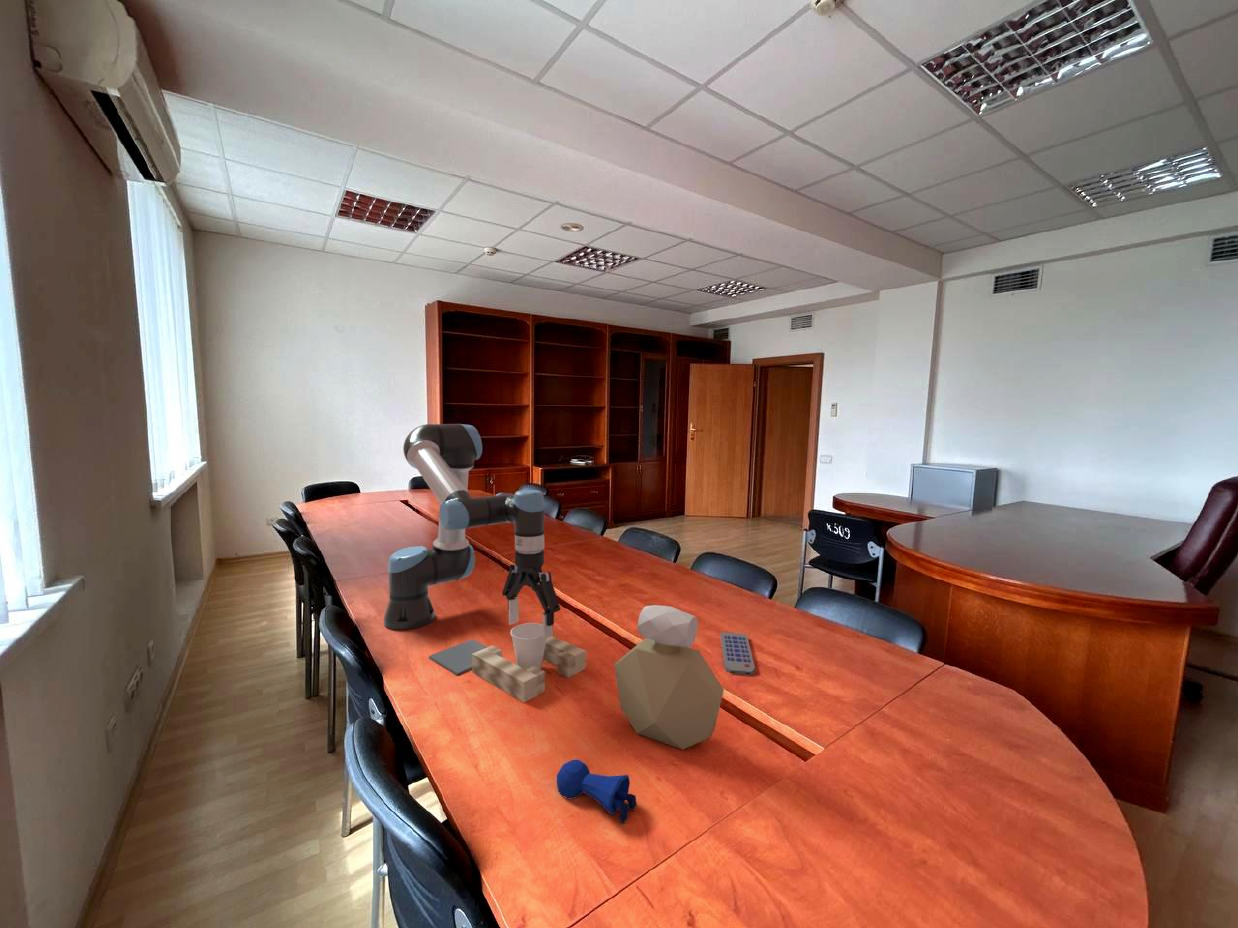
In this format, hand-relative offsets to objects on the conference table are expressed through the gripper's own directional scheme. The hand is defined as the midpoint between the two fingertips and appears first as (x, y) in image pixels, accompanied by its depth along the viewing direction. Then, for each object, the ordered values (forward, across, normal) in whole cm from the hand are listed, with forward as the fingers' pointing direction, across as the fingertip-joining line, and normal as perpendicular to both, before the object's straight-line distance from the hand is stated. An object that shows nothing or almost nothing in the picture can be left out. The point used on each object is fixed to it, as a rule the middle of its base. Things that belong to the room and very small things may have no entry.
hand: (530, 629), depth 128 cm
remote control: (+12, +37, +45) cm, 59 cm away
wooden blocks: (+11, 0, 0) cm, 11 cm away
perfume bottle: (+12, +42, +2) cm, 43 cm away
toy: (+12, +42, -21) cm, 48 cm away
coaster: (+11, -20, -7) cm, 23 cm away
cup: (+12, 0, 0) cm, 12 cm away
